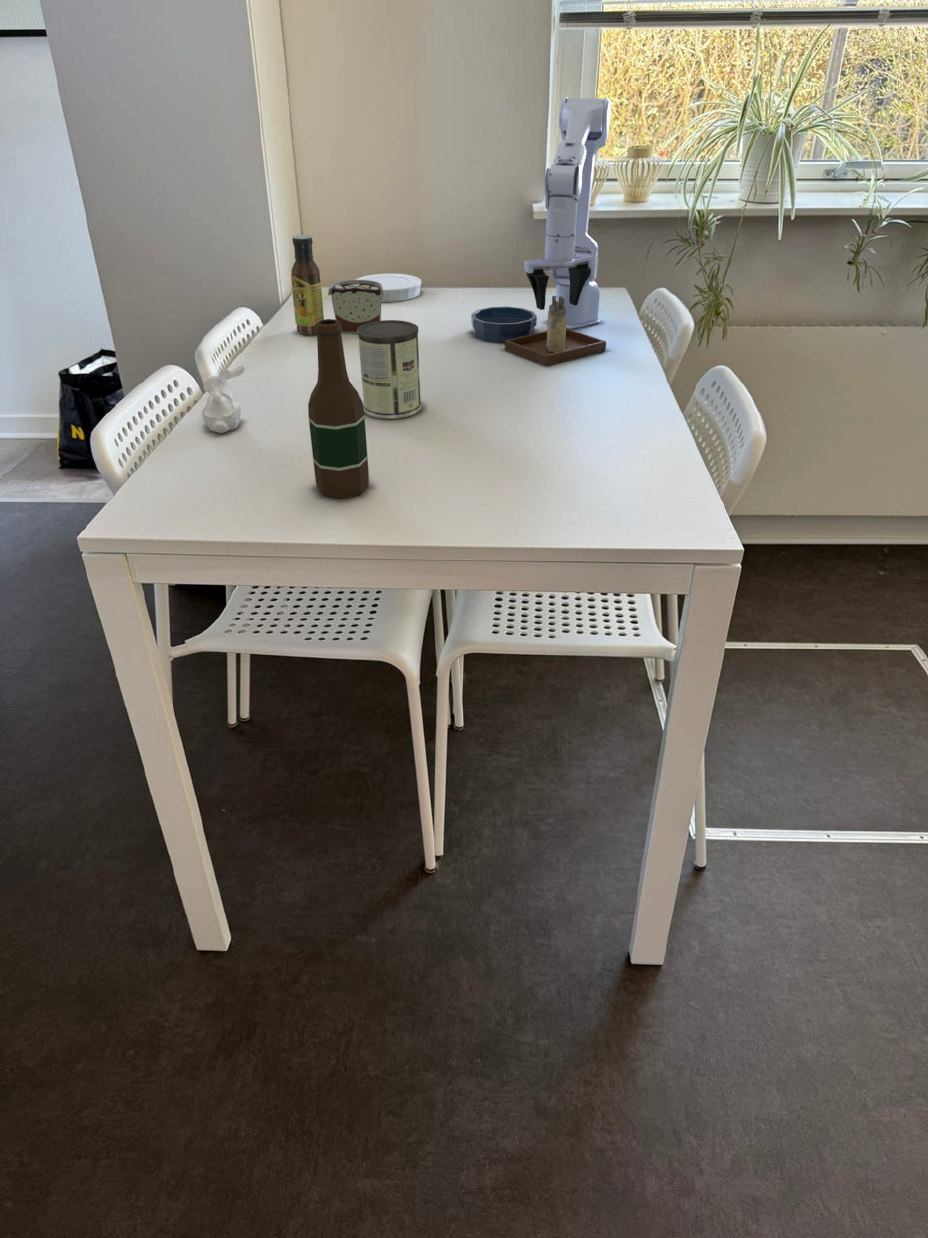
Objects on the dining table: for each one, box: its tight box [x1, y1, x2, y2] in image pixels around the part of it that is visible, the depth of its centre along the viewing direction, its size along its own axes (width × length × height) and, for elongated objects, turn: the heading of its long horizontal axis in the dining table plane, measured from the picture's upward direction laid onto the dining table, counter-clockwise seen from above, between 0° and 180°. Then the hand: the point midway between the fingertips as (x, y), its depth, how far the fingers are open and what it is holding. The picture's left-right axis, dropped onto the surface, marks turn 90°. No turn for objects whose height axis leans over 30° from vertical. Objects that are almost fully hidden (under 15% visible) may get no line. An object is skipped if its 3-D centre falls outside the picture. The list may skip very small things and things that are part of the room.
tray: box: [504, 328, 607, 367], centre depth 184 cm, size 16×13×2 cm
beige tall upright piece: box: [546, 295, 567, 353], centre depth 181 cm, size 7×4×10 cm, turn 1°
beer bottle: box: [307, 318, 370, 499], centre depth 124 cm, size 8×8×24 cm
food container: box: [327, 279, 385, 334], centre depth 195 cm, size 12×6×10 cm, turn 84°
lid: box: [355, 273, 422, 303], centre depth 223 cm, size 17×20×3 cm
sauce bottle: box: [290, 234, 325, 336], centre depth 191 cm, size 6×6×20 cm
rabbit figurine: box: [201, 363, 245, 434], centre depth 149 cm, size 12×8×10 cm, turn 9°
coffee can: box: [356, 319, 422, 420], centre depth 153 cm, size 10×10×14 cm
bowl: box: [470, 306, 538, 344], centre depth 193 cm, size 14×14×4 cm
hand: (557, 306), depth 179 cm, fingers open, 7 cm apart
